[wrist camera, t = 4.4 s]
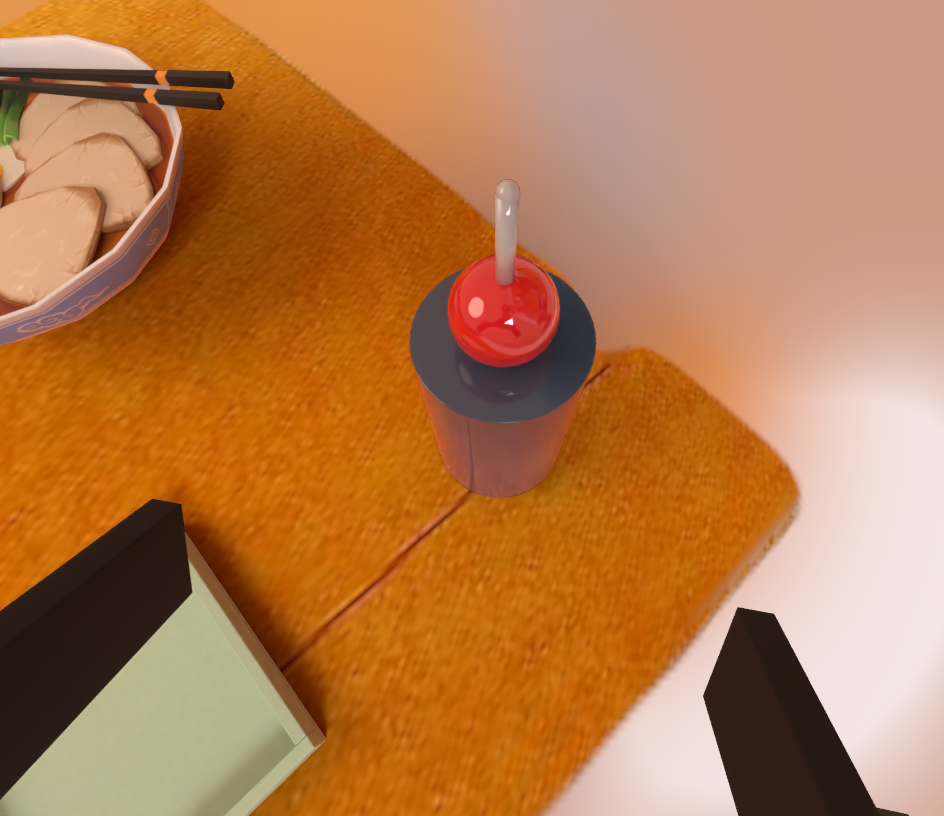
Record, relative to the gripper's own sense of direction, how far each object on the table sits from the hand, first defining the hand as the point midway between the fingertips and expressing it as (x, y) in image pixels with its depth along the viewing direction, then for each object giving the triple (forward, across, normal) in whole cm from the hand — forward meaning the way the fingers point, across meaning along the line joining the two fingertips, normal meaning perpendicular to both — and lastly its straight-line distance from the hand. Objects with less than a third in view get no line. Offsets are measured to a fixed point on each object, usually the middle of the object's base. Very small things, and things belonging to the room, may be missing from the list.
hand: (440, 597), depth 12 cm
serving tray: (+5, -14, -16) cm, 22 cm away
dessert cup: (+17, 0, -4) cm, 17 cm away
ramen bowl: (+23, -30, +2) cm, 38 cm away
